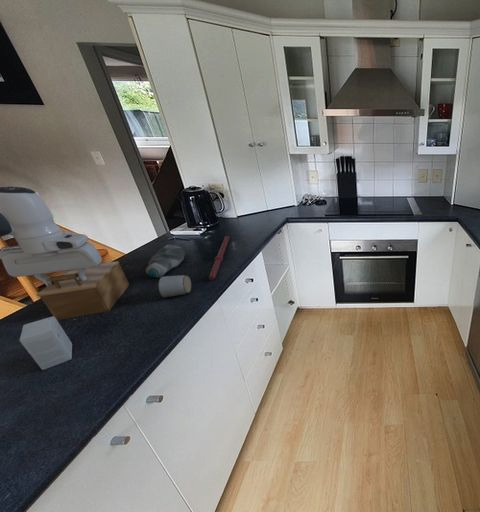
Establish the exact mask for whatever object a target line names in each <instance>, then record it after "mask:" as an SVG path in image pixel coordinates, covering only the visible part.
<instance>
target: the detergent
mask: <svg viewBox="0 0 480 512" xmlns="http://www.w3.org/2000/svg"><path fill="white" fill-rule="evenodd" d="M186 254H187V250H185V249H184V247H182V246H180V245H178V244H175V243H174V244H172V243H171V244H166V245H163V246H162V247H160V248H159V249H158V250H157V251H156V252H155V254H154V255H153V256H151V258H150V259H149V260H148V266H146V268H145V270H144V271H145V273H146V274H147V276H148V277H150V278H159V279H160V278H161V277H164V275H165V274H166V273H167V272H169V271H170V270H172V269H174V268H177V267H178V266H179V265H180V264H181V263H182V262H183V261H184V260H185V256H186Z"/></svg>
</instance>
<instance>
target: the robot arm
mask: <svg viewBox="0 0 480 512" xmlns="http://www.w3.org/2000/svg"><path fill="white" fill-rule="evenodd" d="M5 236H12V237H13V238H14V239H15V241H16V243H17V245H11V246H10V245H8V246H7V245H6V246H5V245H4V246H2V247H1V248H0V259H1V261H2V264H3V266H4V269H5V270H6V273H7V274H8V275H9V276H10V277H13V278H21V277H22V278H23V277H28V276H34V278H35V279H36V280H39V281H41V282H42V283H44V284H45V287H46V286H51V285H54V282H51V281H50V277H49V276H47V275H46V274H50V273H51V274H52V273H59V272H66V271H67V270H75V269H76V271H77V272H80V273H79V275H78V276H77V277H76V279H77V281H85V280H86V276H85V272H86V268H90V267H96V266H98V265H99V264H101V263H103V262H102V261H103V257H102V256H101V254H100V251H99V250H98V249H97V248H96V246H95V245H94V244H92V242H90V241H89V237H88V235H86V234H84V233H77V232H76V233H75V232H67V231H62V229H61V227H60V226H58V225H57V223H56V222H55V219H54V215H53V213H52V211H51V209H50V208H49V206H48V204H47V203H46V202H45V200H44V199H43V197H42V196H41V195H40V194H39V193H38V192H37V191H35V190H34V189H31V188H28V187H24V186H23V187H22V186H0V238H1V237H5Z"/></svg>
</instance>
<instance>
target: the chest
mask: <svg viewBox="0 0 480 512" xmlns="http://www.w3.org/2000/svg"><path fill="white" fill-rule="evenodd" d="M129 287H130V283H129V281H128V278H127V276H126V274H125V272H124V270H123V268H122V266H121V264H120V263H119V264H118V265H117V266H116V267H115V268H114V269H113V270H112V271H111V272H110V273H109V274H108V275H107V276H106V277H105V278H104V279H103V280H102V281H101V282H100V283H99V284H98V285H97V286H96V287H95V288H91V289H84V290H77V291H71V292H64V293H58V294H51V295H45V296H39V297H40V298H41V300H42V301H43V303H44V304H45V306H46V307H47V309H48V311H49V313H51V315H52V316H55V318H56V320H57V321H59V320H66V319H72V318H76V317H82V316H89V315H94V314H100V313H106V312H110V311H111V309H112V308H113V307H114V306H115V304H116V303H117V302H118V301H119V299H120V298H121V296H122V295H123V294H124V293H125V291H126V290H127V289H128V288H129Z"/></svg>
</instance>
